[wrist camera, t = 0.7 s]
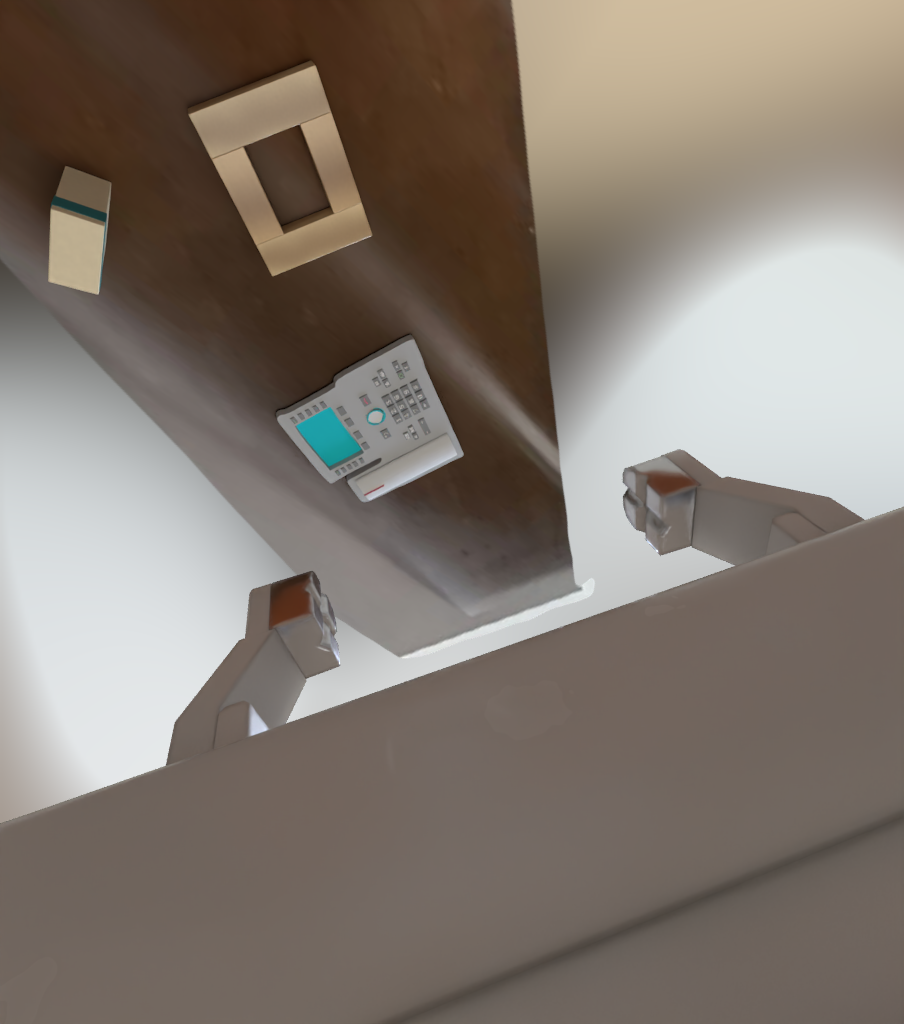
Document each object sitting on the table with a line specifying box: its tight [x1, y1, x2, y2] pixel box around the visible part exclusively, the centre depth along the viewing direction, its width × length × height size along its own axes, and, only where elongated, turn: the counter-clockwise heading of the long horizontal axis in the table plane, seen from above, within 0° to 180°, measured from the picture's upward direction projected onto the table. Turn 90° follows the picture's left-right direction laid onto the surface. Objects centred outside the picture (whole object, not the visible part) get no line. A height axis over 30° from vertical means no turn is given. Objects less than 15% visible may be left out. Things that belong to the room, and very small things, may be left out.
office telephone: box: [276, 335, 463, 502], centre depth 74 cm, size 23×3×20 cm
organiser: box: [188, 61, 372, 276], centre depth 49 cm, size 14×11×2 cm
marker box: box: [48, 166, 111, 294], centre depth 43 cm, size 6×3×10 cm, turn 151°
